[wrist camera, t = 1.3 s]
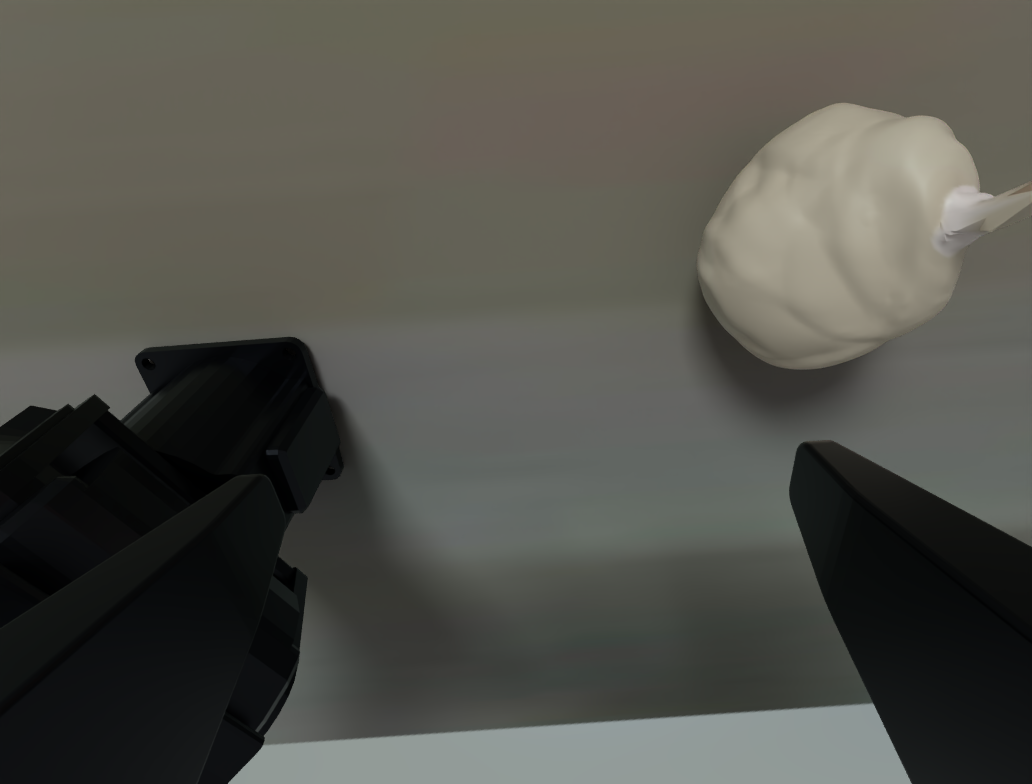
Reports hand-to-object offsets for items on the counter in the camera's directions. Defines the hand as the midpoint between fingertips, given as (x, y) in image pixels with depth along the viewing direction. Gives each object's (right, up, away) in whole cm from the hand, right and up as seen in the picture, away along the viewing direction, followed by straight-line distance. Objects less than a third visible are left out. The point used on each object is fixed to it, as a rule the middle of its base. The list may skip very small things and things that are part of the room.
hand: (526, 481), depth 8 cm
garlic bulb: (+8, +7, +10) cm, 15 cm away
